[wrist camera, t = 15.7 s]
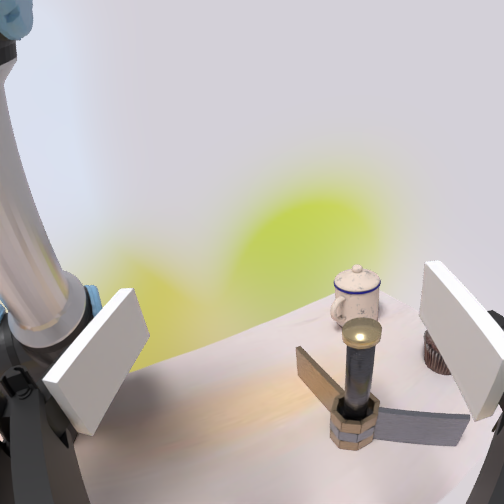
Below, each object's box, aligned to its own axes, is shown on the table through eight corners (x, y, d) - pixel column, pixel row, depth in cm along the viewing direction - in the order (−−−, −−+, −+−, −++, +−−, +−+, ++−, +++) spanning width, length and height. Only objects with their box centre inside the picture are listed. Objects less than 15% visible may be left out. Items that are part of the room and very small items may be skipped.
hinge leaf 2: (325, 445, 35) (326, 419, 33) (338, 413, 39) (339, 386, 37) (454, 461, 26) (469, 435, 24) (457, 427, 31) (469, 399, 29)
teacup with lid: (353, 302, 67) (353, 253, 62) (387, 316, 59) (390, 263, 55) (315, 327, 61) (312, 274, 57) (350, 345, 53) (351, 289, 49)
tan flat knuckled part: (284, 380, 48) (280, 353, 46) (315, 367, 50) (314, 340, 48) (346, 456, 32) (349, 432, 30) (381, 435, 34) (388, 408, 32)
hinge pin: (332, 431, 37) (334, 326, 30) (356, 418, 38) (364, 312, 32) (348, 449, 33) (358, 346, 27) (372, 435, 34) (389, 329, 28)
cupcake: (479, 356, 42) (492, 307, 38) (451, 387, 38) (467, 337, 34) (439, 336, 50) (447, 289, 46) (408, 361, 46) (416, 312, 42)
